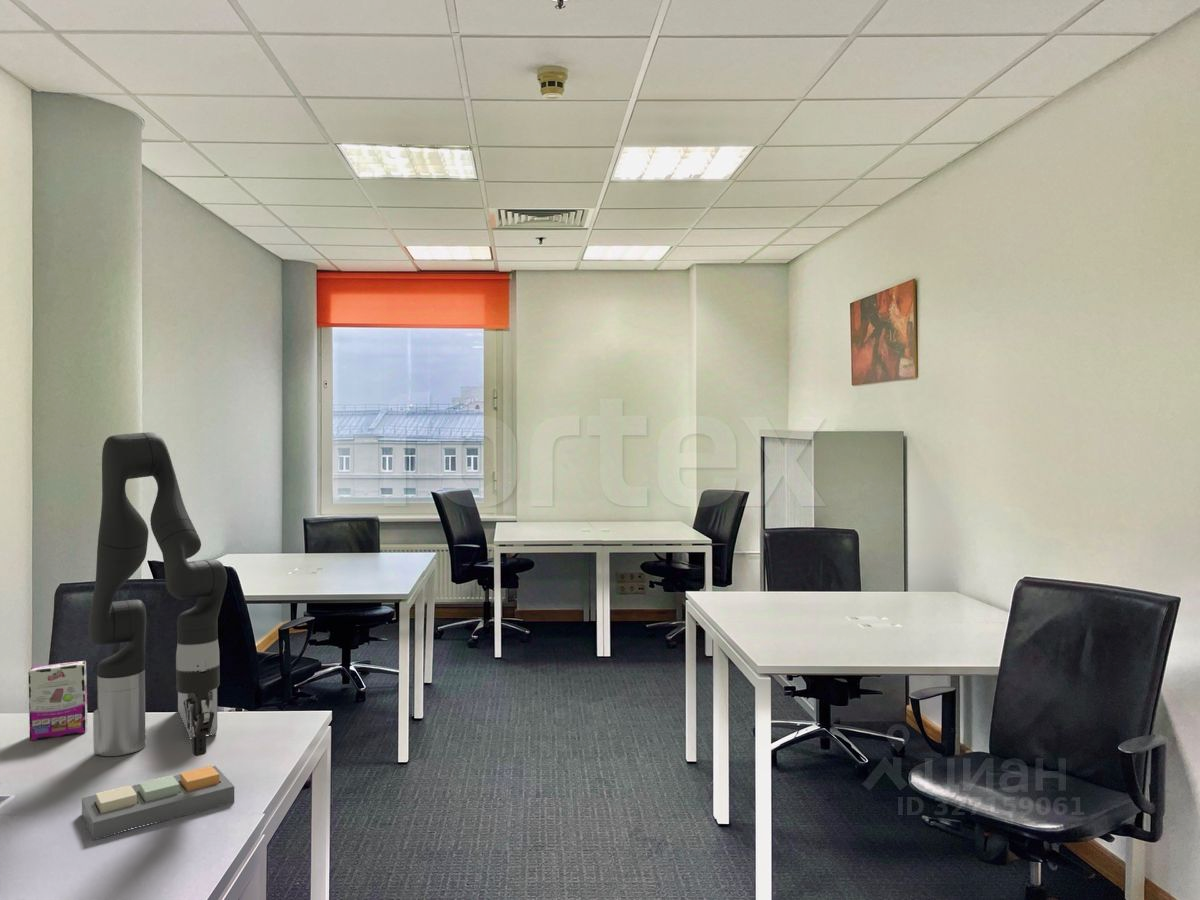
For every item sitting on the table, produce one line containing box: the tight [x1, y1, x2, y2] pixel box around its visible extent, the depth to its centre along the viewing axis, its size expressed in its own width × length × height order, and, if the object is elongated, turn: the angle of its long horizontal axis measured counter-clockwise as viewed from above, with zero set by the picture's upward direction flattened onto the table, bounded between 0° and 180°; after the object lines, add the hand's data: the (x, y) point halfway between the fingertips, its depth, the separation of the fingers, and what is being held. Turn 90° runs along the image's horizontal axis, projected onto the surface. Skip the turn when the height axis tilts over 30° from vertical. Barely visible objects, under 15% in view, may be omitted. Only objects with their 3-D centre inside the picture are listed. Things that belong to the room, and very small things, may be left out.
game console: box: [177, 687, 218, 738], centre depth 198 cm, size 6×27×20 cm, turn 33°
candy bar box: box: [27, 660, 88, 742], centre depth 191 cm, size 11×5×16 cm, turn 117°
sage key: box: [139, 774, 179, 802], centre depth 151 cm, size 6×6×2 cm
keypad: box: [81, 765, 235, 841], centre depth 151 cm, size 23×13×3 cm, turn 130°
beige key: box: [95, 784, 137, 813], centre depth 147 cm, size 6×6×2 cm
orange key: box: [179, 765, 219, 791], centre depth 156 cm, size 6×6×2 cm
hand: (198, 754), depth 156 cm, fingers closed
